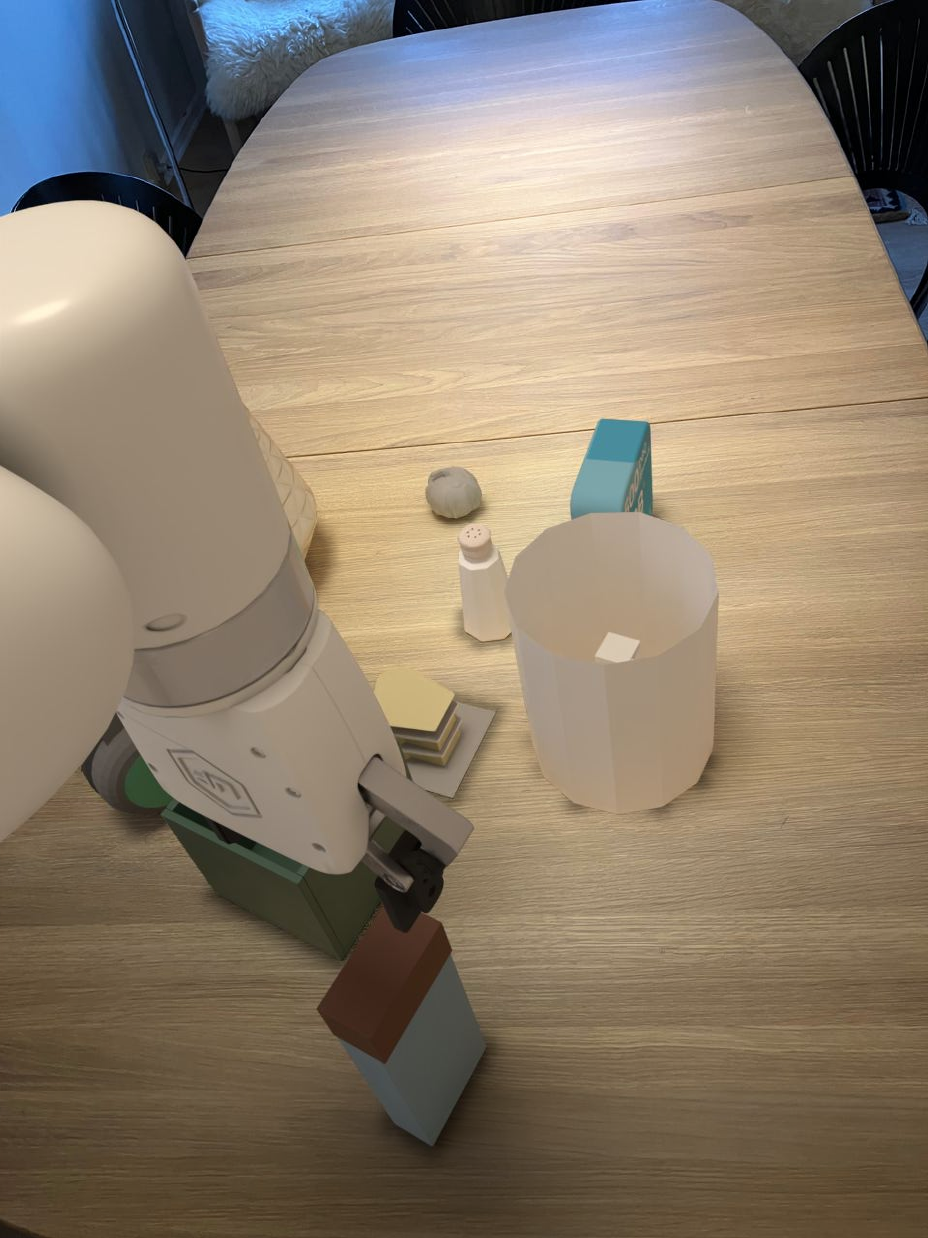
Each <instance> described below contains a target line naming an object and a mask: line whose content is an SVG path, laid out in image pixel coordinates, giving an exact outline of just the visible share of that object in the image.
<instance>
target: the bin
mask: <svg viewBox="0 0 928 1238" xmlns="http://www.w3.org/2000/svg"><path fill="white" fill-rule="evenodd" d="M396 742H397V745H398V747H399V750H400V753H401V756H402V759H403V763H404V766H405V771H406V777H407V778H408V779H410V780H411V781H412V782H413V780H412V777H411V774H410V771H409V768H408V765H407V762H406V760H405V757H404V754H403V751H402V748H401V745H400V742H399V741H397V740H396ZM364 803H365V804H366V802H365V801H364ZM160 816H161V817H162V819H163V820H164V822H165V824H167V826H168V827H169V829H170V830H171V832H172V833H173V834H174V836H175V838H176V839H177V840H178V841H179V843H180V844H181V846H182V847H183V849H184V850H185V852H186V853H187V854H188V856H189V857H190V859H191V860H192V861H193V863H194V865H195V866H196V867H197V869H198V871H200V873H201V874H202V876H203V878H204V879H205V880H206V881H207V883H208V884H209V886H210V887H211V889H212V890H213V891H214V893H215V895H218V896H219V897H221V898H223V899H225V900H227V901H229V902H230V903H232V904H234V905H236V906H238V907H240V908H242V909H244V910H246V911H247V912H249V913H251V914H253V915H255V916H257V917H259V918H261V919H262V920H264V921H266V922H268V923H270V924H272V925H274V926H275V927H277V928H279V929H281V930H282V931H284V932H287V933H289V934H291V935H292V936H294V937H295V938H298V939H299V940H301V941H303V942H305V943H306V944H309V945H311V946H312V947H314V948H316V949H318V950H320V951H322V952H324V953H326V954H327V955H329V956H331V957H333V958H335V959H336V960H339V961H340V962H342V961H343V960H344V958H345V956H346V955H347V953H348V952H349V951H350V949H351V947H352V946H353V944H354V943H355V941H356V940H357V938H358V937H359V936H360V934H361V932H362V930H363V929H364V927H365V926H366V924H367V922H369V920H370V918H371V916H372V915H373V914H374V912H375V910H376V909H377V907H378V906H379V905H380V903H381V902H382V901H381V899H380V897H379V895H378V893H377V891H376V889H375V886H374V884H375V880H376V878H377V876H378V875H377V874H375V873H374V872H373V871H372V870H371V869H370V868H369V867H368V866H366V865H365V864H364V863H363V862H362V861H361V860H360V862H359V863H358V864H357V865H356V867H355V868H354V869H353V870H352V871H351V872H349V873H345V874H328V873H324V872H320V871H318V870H315V869H313V868H310V867H308V866H306V865H304V864H301V863H299V862H297V861H295V860H293V859H291V858H289V857H287V856H284V855H282V854H280V853H278V852H276V851H274V850H272V849H270V848H268V847H266V846H264V845H262V844H260V843H258V842H256V841H254V840H252V839H249V838H247V837H245V836H243V835H242V836H241V837H240V838H239V840H238V841H237V842H236V843H232V844H227V843H225V842H223V841H221V840H219V839H218V837H217V836H216V834H215V833H214V831H213V830H212V828H211V827H210V825H209V824H208V822H207V820H206V819H205V817H204V816H203V815H202V814H200V813H198V812H196V811H194V810H192V809H191V808H189V807H187V806H185V805H184V804H182V803H180V802H179V801H177V800H176V799H175V798H174V799H173V800H172V801H171V802H170V803H169V805H168V806H167V807H166V808H165V810H164V811H163V812H162V813H160ZM404 830H406V829H404V828H403V827H401V826H400V825H398V824H397V823H395V822H394V821H392V820H391V819H390V818H388V817H387V816H386V818H385V819H384V821H383V822H382V824H381V825H380V827H379V828H378V830H377V831H376V833H375V834H374V836H373V837H372V838H371V839H372V840H373V841H375V842H376V843H377V844H378V845H379V846H380V847H381V848H382V849H383V850H385V851H386V852H387V853H388V854H389V853H390V851H391V849H392V848H393V846H394V845H395V843H396V842H397V840H398V839H399V837H400V836H401V834H402V833H403V831H404Z"/></svg>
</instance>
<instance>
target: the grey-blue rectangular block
mask: <svg viewBox="0 0 928 1238" xmlns="http://www.w3.org/2000/svg"><path fill="white" fill-rule="evenodd" d="M336 1038H337V1039H338V1041H339V1042H340V1044H341V1045H342V1047H343V1048H344V1050H345V1051H346V1053H347V1055H348V1056H349V1057H350V1059H351V1060H352V1062H353V1064H354V1065H355V1066H356V1068H357V1069H358V1071H359V1072H360V1074H361V1076H362V1077H363V1079H364V1080H365V1081H366V1084H368V1087H370V1089H371V1091H372V1092H373V1094H374V1095H375V1097H376V1099H378V1101H379V1103H380V1104H381V1106H382V1107H383V1109H384V1110H385V1112H386V1113H387V1115H388V1116H389V1118H390V1119H391V1121H392V1122H393V1124H394V1125H396V1126H398V1128H400V1129H402V1130H404V1131H406V1132H407V1133H409V1134H411V1135H412V1136H414V1137H416V1138H418V1139H419V1140H420V1141H422V1142H424V1143H426V1144H427V1145H429V1146H431V1147H433V1146H434V1145H435V1144H436V1141H437V1139H438V1138H439V1136H440V1134H441V1133H442V1130H443V1128H444V1127H445V1125H446V1123H447V1121H448V1119H449V1117H450V1116H451V1114H452V1112H453V1110H454V1108H455V1106H456V1105H457V1103H458V1101H459V1099H460V1097H461V1095H462V1094H463V1091H464V1089H465V1088H466V1085H467V1084H468V1082H469V1080H470V1078H471V1077H472V1075H473V1073H474V1071H475V1069H476V1067H477V1065H478V1064H479V1061H480V1060H481V1059H482V1056H483V1055H484V1053H485V1050H486V1049H487V1044H486V1041H485V1039H484V1036H483V1033H482V1031H481V1028H480V1025H479V1023H478V1021H477V1018H476V1015H475V1013H474V1010H473V1008H472V1005H471V1002H470V1000H469V997H468V995H467V992H466V990H465V986H464V985H463V981H462V979H461V977H460V974H459V971H458V969H457V967H456V964H455V960H454V958H453V955H452V953H451V954H450V956H449V957H448V959H447V961H446V962H445V964H444V966H443V967H442V969H441V971H440V972H439V974H438V976H437V978H436V979H435V981H434V983H433V984H432V986H431V988H430V989H429V991H428V993H427V994H426V996H425V998H424V1000H423V1001H422V1003H421V1005H420V1006H419V1008H418V1010H417V1011H416V1013H415V1015H414V1017H413V1018H412V1020H411V1022H410V1023H409V1025H408V1027H407V1028H406V1030H405V1032H404V1033H403V1035H402V1037H401V1039H400V1040H399V1042H398V1044H397V1045H396V1047H395V1049H394V1050H393V1052H392V1054H391V1055H390V1057H389V1059H388V1061H387V1062H386V1064H383V1063H382V1062H380V1061H378V1060H376V1059H375V1058H373V1057H371V1056H369V1055H368V1054H366V1053H364V1052H363V1051H361V1050H359V1049H357V1048H356V1047H354V1046H352V1045H350V1044H349V1043H347V1042H345V1041H344V1040H342V1039H340V1038H338V1037H337V1036H336Z"/></svg>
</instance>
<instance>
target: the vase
mask: <svg viewBox="0 0 928 1238" xmlns="http://www.w3.org/2000/svg"><path fill="white" fill-rule="evenodd" d="M243 405H244V408H245V410H246V413H247V415H248V418H249V420H250V423H251V426H252V428H253V431H254V433H255V436H256V438H257V441H258V443H259V446H260V449H261V451H262V454H263V456H264V459H265V461H266V464H267V466H268V469H269V472H270V474H271V477H272V479H273V482H274V484H275V487H276V490H277V492H278V495H279V497H280V500H281V502H282V505H283V507H284V510H285V513H286V515H287V518H288V521H289V523H290V526H291V528H292V531H293V533H294V536H295V539H296V541H297V544H298V546H299V549H300V551H301V554H302V556H303V559H304V562H305V561H306V558H307V554H308V552H309V549H310V545H311V542H312V538H313V535H314V532H315V529H316V525H317V520H318V504H317V500H316V497H315V494H314V492H313V490H312V488H311V487H310V485H309V484H308V483H307V482H306V480H305V479H304V478H303V476H301V474H300V473H299V471H298V470H297V468H296V467H295V466H294V465H293V464H292V463H291V462H290V460H289V459H288V457H287V456H286V455H285V453H283V452H282V449H280V447H279V446H278V445H277V444H276V442H275V441H274V440H273V438H272V437H271V436H270V435H269V434H268V432H267V431H266V429H264V427H263V426H262V424H261V423H260V422H259V420H257V418H256V417H255V416H254V415H253V414H252V413H253V412H251V410H250V409H249V408H248V407H247V405H245V403H244V402H243Z"/></svg>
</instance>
